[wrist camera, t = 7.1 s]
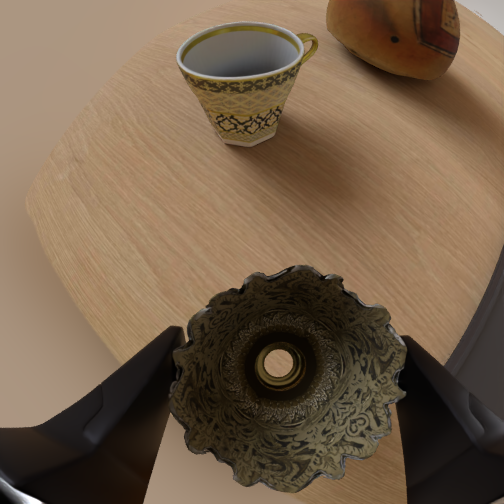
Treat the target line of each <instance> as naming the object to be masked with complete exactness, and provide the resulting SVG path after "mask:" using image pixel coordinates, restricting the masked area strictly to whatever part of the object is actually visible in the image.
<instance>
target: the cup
mask: <svg viewBox="0 0 504 504" xmlns="http://www.w3.org/2000/svg"><path fill="white" fill-rule="evenodd" d="M342 282H343V278H342V277H341V276H339V275H336V274H328V275H326V276H323V275H321V274H320V273H319V272H318V271H316V270H315V269H314V268H313V267H311V266H308V265H295V266H291V267H289V268H286V269H284V270H282V271H281V272H279V273H277V274H274V275H271V276H266V275H265V274H264V273H260V272H255V273H253V274H251V275H250V276H249V277H247V278H246V279H244V284H243V285H242V288H241V289H236V288H231V289H229V290H228V291H224V292H220V293H218V294H216V295H214V296H213V297H212V298H211V299H210V300H209V304H208V305H207V306H206V308H207V309H201V310H200V311H199V312H197V313H196V314H195V315H193V316H192V317H191V319H190V320H189V322H188V325H187V334H188V337H189V341H188V342H187V343H185V344H184V345H183V346H180V347H178V348H176V349H174V350H173V354H172V357H173V360H174V363H175V365H176V367H177V368H178V371H177V375H176V378H177V380H176V381H174V382H173V383H172V385H171V387H170V391H169V395H168V407H169V410H170V412H171V413H172V415H173V417H174V418H175V419H176V420H177V421H178V423H179V424H181V425H182V426H183V428H184V429H185V430H186V431H185V434H184V439H185V443H186V445H187V448H188V450H190V451H191V452H192V453H194V454H206V452H211V453H212V454H214V456H215V457H216V459H217V461H219V462H221V463H226V464H227V465H229V466H231V467H232V469H233V472H234V475H233V479H234V480H235V481H236V482H238V483H239V484H241V485H242V486H245V487H250V486H253V485H255V484H257V483H258V482H261V483H263V484H264V485H265V486H267V487H268V488H270V489H273V490H276V491H281V492H288V493H296V492H299V491H301V490H302V489H304V488H305V487H307V486H308V485H309V484H311V483H312V481H313V480H315V479H316V478H318V477H319V476H323V475H325V476H326V477H327V478H329V479H332V480H335V479H338V480H339V479H341V478H342V477H344V474H345V472H344V471H345V461H346V460H345V459H346V458H350V459H355V460H364V459H367V458H369V457H370V456H372V455H373V454H374V453H375V452H376V449H377V447H378V445H379V443H378V439H381V438H382V437H383V436H387V435H389V434H391V430H392V429H391V419H390V416H391V414H392V412H391V410H390V409H389V408H388V405H389V404H392V403H395V402H398V401H399V400H400V399H402V398H404V397H405V396H406V391H405V392H404V391H402V390H401V389H400V388H399V387H398V384H397V382H398V376H399V373H400V371H401V370H402V369H403V368H404V365H405V359H406V353H407V347H406V345H405V343H404V341H403V340H402V338H401V337H400V336H399V335H398V334H397V333H396V331H395V329H394V328H393V327H392V326H391V325H390V324H389V321H390V320H391V316H390V314H389V312H388V311H387V309H386V308H385V307H384V306H382V305H380V304H375V305H366V304H364V303H363V302H362V301H361V300H360V299H359V298H358V295H357V294H356V293H354V292H351V291H348V290H346V289H344V285H343V284H342ZM277 349H281V350H285V351H287V352H288V353H289V354H290V355H291V356H292V359H293V367H292V369H291V371H290V372H289V373H288V374H287V375H285V376H283V377H274V376H271V375H270V374H269V373H268V372H267V371H266V369H265V367H264V361H265V358H266V356H267V355H268V354H269V353H270V352H271V351H273V350H277ZM204 450H206V451H204ZM208 450H209V451H208ZM344 458H345V459H344ZM321 474H323V475H321ZM326 477H323V478H326Z"/></svg>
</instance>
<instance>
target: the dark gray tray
mask: <svg viewBox="0 0 504 504" xmlns="http://www.w3.org/2000/svg"><path fill="white" fill-rule="evenodd" d="M444 368H446V369H447V370H448V371H449V372H450V373H451V374H452V375H453V376H454V377H455V378H456V379H457V380H458V381H460V382H461V383H462V384H463V385H464V386H465V387H466V388H467V389H468V390H469V392H471V393H472V394H473V395H474V396H475V397H476V398H477V399H479V400H480V401H481V402H482V403H483V404H484V405H485V406H486V407H487V408H489V409H490V410H491V411H492V412H493V413H495V414H496V415H497V416H498V417H500V418H501V419H502V420H503V421H504V246H503V249H502V251H501V254H500V257H499V260H498V263H497V265H496V268H495V270H494V273H493V275H492V278H491V280H490V283H489V285H488V287H487V289H486V292H485V294H484V296H483V298H482V300H481V302H480V305H479V307H478V309H477V311H476V313H475V315H474V316H473V318H472V320H471V322H470V324H469V326H468V328H467V330H466V331H465V333H464V335H463V337H462V338H461V340H460V342H459V343H458V345H457V347H456V348H455V350H454V352H453V353H452V355H451V356H450V358H449V359H448V361H447V362H446V364H445V366H444Z"/></svg>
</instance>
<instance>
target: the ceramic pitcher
mask: <svg viewBox="0 0 504 504" xmlns="http://www.w3.org/2000/svg"><path fill="white" fill-rule="evenodd" d="M326 23H327V29H328V31H329V32H330V33H331V34H332V35H333V36H334V37H335V38H336V39H337V40H338V41H340V42H341V43H342V44H344V45H345V47H346V48H347V49H348V50H349V52H350V53H352V54H354V55H356V56H357V57H359V58H361V59H363V60H364V61H366V62H368V63H370V64H372V65H374V66H376V67H378V68H380V69H382V70H385V71H387V72H390V73H393V74H396V75H401V76H407V77H413V78H418V79H423V80H433V79H435V78H438V77H440V76H441V75H442V74H443V73H445V72H446V70H447V69H448V68H449V66H450V65H451V63H452V61H453V60H454V57H455V55H456V53H457V50H458V46H459V40H460V23H459V17H458V12H457V8H456V5H455V2H454V0H329V3H328V7H327V13H326Z"/></svg>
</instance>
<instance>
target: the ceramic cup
mask: <svg viewBox="0 0 504 504" xmlns="http://www.w3.org/2000/svg"><path fill="white" fill-rule="evenodd" d="M310 40H312V47H311V48H310V50H309V51H308V52H307V53H306V54H305V55H304V52H305V48H304V45H303V43H305V42H307V41H310ZM317 47H318V41H317V39H316V37H314V36H313V35H311V34H307V33H301V34H297V35H295V34H294V33H292V32H291V31H289V30H287V29H284V28H282V27H279V26H276V25H273V24H268V23H261V22H233V23H226V24H221V25H217V26H214V27H211V28H208V29H205V30H203V31H201V32H199V33H197V34H195V35H193V36H192V37H190V38H189V39H187V40H186V41H185V42H184V43H183V44H182V45H181V47H180V48H179V50H178V52H177V55H176V61H177V64H178V66H179V68H180V70H181V72H182V74H183V76H184V78H185V80H186V82H187V83H188V85H189V87H190V88H191V90H192V91H193V93H194V94H195V95H196V96H197V98H198V100H199V102H200V104H201V106H202V107H203V109H204V111H205V113H206V115H207V117H208V119H209V121H210V123H211V125H212V127H213V128H214V130H215V131H216V132H217V134H218V135H219V137H220V138H221V139H222V141H223V142H224V143H227V144H233V145H239V146H245V147H252V146H254V145H256V144H259V143H261V142H263V141H265V140H267V139H270V138H272V137H273V136H274V135H275V132H276V130H277V127H278V123H279V120H280V116H281V113H282V110H283V107H284V104H285V101H286V99H287V97H288V95H289V93H290V91H291V89H292V87H293V85H294V82H295V80H296V77H297V74H298V72H299V69H300V66H301V65H302V64H303V63H304V62H306V61H307V60H308V59H309V58H310V57H311V56H312V55H313V54H314V53H315V52H316V50H317Z"/></svg>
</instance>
